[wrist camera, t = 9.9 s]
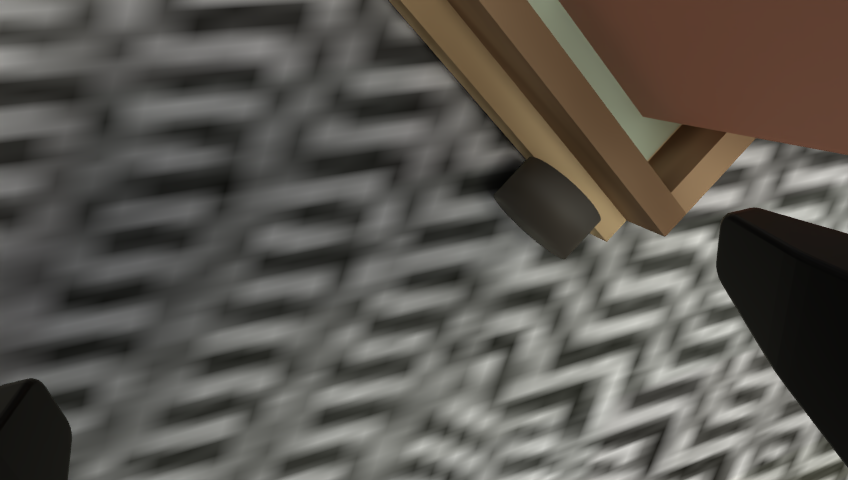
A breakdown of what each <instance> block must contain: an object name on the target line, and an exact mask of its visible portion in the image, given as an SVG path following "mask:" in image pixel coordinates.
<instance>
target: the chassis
mask: <svg viewBox="0 0 848 480" xmlns="http://www.w3.org/2000/svg"><path fill="white" fill-rule="evenodd" d="M389 1H390V3H391V4H392V5H393V6H394V7H395V8H396V10H397V11H398V12H399V13H400V14H401V15H402V16H403V18H404V19H405V20H406V21H407V22H408V23H409V25H410V26H411V27H412V28H413V29H414V30H415V32H416V33H417V34H418V35H419V36H420V37H421V38H422V40H423V41H424V42H425V43H426V44H427V45H428V47H429V48H430V49H431V50H432V51H433V52H434V53H435V55H436V56H437V57H438V58H439V59H440V60H441V62H442V63H443V64H444V65H445V66H446V67H447V69H448V70H449V71H450V72H451V73H452V74H453V75H454V77H455V78H456V79H457V80H458V81H459V82H460V84H461V85H462V86H463V87H464V88H465V89H466V90H467V92H468V93H469V94H470V95H471V96H472V97H473V99H474V100H475V101H476V102H477V103H478V104H479V106H480V107H481V108H482V109H483V110H484V111H485V112H486V114H487V115H488V116H489V117H490V118H491V119H492V121H493V122H494V123H495V124H496V125H497V126H498V128H499V129H500V130H501V131H502V132H503V133H504V134H505V136H506V137H507V138H508V139H509V140H510V141H511V143H512V144H513V145H514V146H515V147H516V148H517V149H518V151H519V152H520V153H521V154H522V155H523V156H524V158H525V159H526V161H525V162H524V163H523V164H522V165H521V166H520V167H519V168H518V170H517V171H516V172H515V173H514V174H513V175H512V176H511V177H510V178H509V179H508V180H507V181H506V182H505V184H504V185H503V186H502V187H501V188H500V189H499V190H498V191H497V192H496V193H495V194H494V198H495V200H496V201H497V203H498V204H499V205H500V207H501V208H502V209H503V210H504V211H505V212H506V214H507V215H508V216H509V217H510V218H511V219H512V220H513V221H514V222H515V223H516V224H517V225H518V226H519V227H520V228H521V229H522V230H524V231H525V232H526V233H527V234H528V235H529V236H530V237H531V238H533V239H534V240H535V241H536V242H537V243H539V244H540V245H541V246H543V247H544V248H545V249H547V250H548V251H549V252H551V253H552V254H554V255H555V256H557V257H559V258H561V259H566V258H567V257H568V256H569V255H570V253H571V252H572V251H573V250H574V249H575V248H576V247H577V246H578V245H579V244H580V243H581V242H582V240H583V239H584V238H585V237H586V236H587V235H588V234H589V233H590V234H592V235H594V236H596V237H598V238H600V239H602V240H604V241H606V242H607V241H608V240H609V239H610V238H611V237H612V236H613V234H614V233H615V232H616V231H617V230H618V229H619V228H620V227H621V226H622V225H623V224H624V223H625V221H626V220H627V221H629V222H631V223H634V224H636V225H638V226H641V227H643V228H646V229H648V230H650V231H653V232H655V233H657V234H660V235H662V236H666V235H667V234H668V233H669V232H670V231H671V230H672V229H673V228H674V227H675V225H676V224H677V223H678V222H679V221H680V220H681V219H682V218H683V217H684V216H685V215H686V214H687V212H688V211H689V210H690V209H691V208H692V207H693V206H694V205H695V204H696V203H697V202H698V200H699V199H700V198H701V197H702V196H703V195H704V194H705V193H706V192H707V191H708V190H709V189H710V187H711V186H712V185H713V184H714V183H715V182H716V181H717V180H718V179H719V178H720V177H721V175H722V174H723V173H724V172H725V171H726V170H727V169H728V168H729V167H730V166H731V165H732V163H733V162H734V161H735V160H736V159H737V158H738V157H739V156H740V155H741V154H742V153H743V152H744V150H745V149H746V148H747V147H748V146H749V145H750V144H751V143H752V142H753V141H754V140H755V138H754V137H749V136H743V135H738V134H733V133H727V132H722V131H716V130H711V129H706V128H700V127H695V126H690V125H684V124H679V123H673V122H668V121H663V120H657V119H652V118H647V117H643V116H642V115H641V114H640V112H639V111H638V109H637V108H636V107H635V105H634V104H633V103H632V101H631V100H630V98H629V97H628V96H627V94H626V93H625V92H624V90H623V89H622V87H621V86H620V85H619V83H618V82H617V80H616V79H615V78H614V76H613V75H612V74H611V72H610V71H609V69H608V68H607V67H606V65H605V64H604V63H603V61H602V60H601V58H600V57H599V56H598V54H597V53H596V51H595V50H594V49H593V47H592V46H591V45H590V43H589V42H588V40H587V39H586V38H585V36H584V35H583V34H582V32H581V31H580V29H579V28H578V27H577V25H576V24H575V23H574V21H573V20H572V18H571V17H570V16H569V14H568V13H567V11H566V10H565V9H564V7H563V6H562V5H561V3H560V2H559V0H389Z"/></svg>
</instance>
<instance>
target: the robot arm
mask: <svg viewBox="0 0 848 480" xmlns="http://www.w3.org/2000/svg"><path fill="white" fill-rule="evenodd" d="M716 268H717V273H718V277H719V279H720V281H721V283H722V285H723V287H724V288H725V290H726V292H727V293H728V295H729V297H730V298H731V300H732V302H733V303H734V305H735V307H736V308H737V310H738V312H739V313H740V315H741V317H742V318H743V320H744V322H745V323H746V325H747V327H748V328H749V330H750V332H751V333H752V335H753V337H754V338H755V340H756V342H757V343H758V345H759V347H760V348H761V350H762V352H763V353H764V355H765V357H766V358H767V360H768V361H769V363H770V364H771V366H772V367H773V369H774V371H775V372H776V373H777V375H778V376H779V378H780V379H781V380H782V382H783V383H784V384H785V386H786V387H787V388H788V390H789V391H790V392H791V394H792V395H793V396H794V398H795V399H796V400H797V402H798V403H799V404H800V406H801V407H802V408H803V409H804V411H805V412H806V413H807V415H808V416H809V417H810V419H811V420H812V421H813V423H814V424H815V425H816V427H817V428H818V429H819V430H820V432H821V433H822V434H823V436H824V437H825V438H826V440H827V441H828V442H829V444H830V445H831V446H832V448H833V449H834V450H835V451H836V453H837V454H838V455H839V457H840V458H841V459H842V461H843V462H844V463H845V465H846V466H847V467H848V234H847V233H844V232H840V231H837V230H833V229H830V228H826V227H823V226H819V225H816V224H812V223H809V222H805V221H802V220H798V219H795V218H791V217H788V216H785V215H781V214H778V213H774V212H771V211H767V210H764V209H760V208H748V209H744V210H740V211H735V212H731V213H728V214H726V215H725V216H724V217H723V219H722V221H721V225H720V232H719V242H718V251H717V261H716ZM71 443H72V434H71V428H70V425H69V422H68V420H67V419H66V417H65V416H64V414H63V413H62V411H61V409H60V408H59V406H58V405H57V403H56V402H55V400H54V399H53V397H52V396H51V394H50V393H49V391H48V390H47V388H46V387H45V386H44V384H43V383H42V382H40V381H39V380H37V379H33V378H29V379H25V380H21V381H16V382H12V383H8V384H4V385H2V386H0V480H68V472H69V463H70V453H71Z"/></svg>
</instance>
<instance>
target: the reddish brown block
mask: <svg viewBox="0 0 848 480" xmlns="http://www.w3.org/2000/svg"><path fill="white" fill-rule="evenodd" d="M559 2H560V3H561V5H562V6H563V7H564V9H565V10H566V11H567V13H568V14H569V16H570V17H571V18H572V20H573V21H574V23H575V24H576V25H577V27H578V28H579V29H580V31H581V32H582V34H583V35H584V36H585V38H586V39H587V40H588V42H589V43H590V45H591V46H592V47H593V49H594V50H595V51H596V53H597V54H598V56H599V57H600V58H601V60H602V61H603V63H604V64H605V65H606V67H607V68H608V69H609V71H610V72H611V74H612V75H613V76H614V78H615V79H616V80H617V82H618V83H619V85H620V86H621V87H622V89H623V90H624V92H625V93H626V94H627V96H628V97H629V98H630V100H631V101H632V103H633V104H634V105H635V107H636V108H637V109H638V111H639V112H640V114H641V115H642V116H643V117H647V118H652V119H657V120H663V121H668V122H673V123H679V124H684V125H690V126H695V127H700V128H706V129H711V130H716V131H722V132H727V133H733V134H738V135H743V136H749V137H754V138H760V139H765V140H770V141H776V142H781V143H786V144H792V145H797V146H803V147H808V148H813V149H819V150H824V151H829V152H835V153H840V154H846V155H848V0H559Z"/></svg>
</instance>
